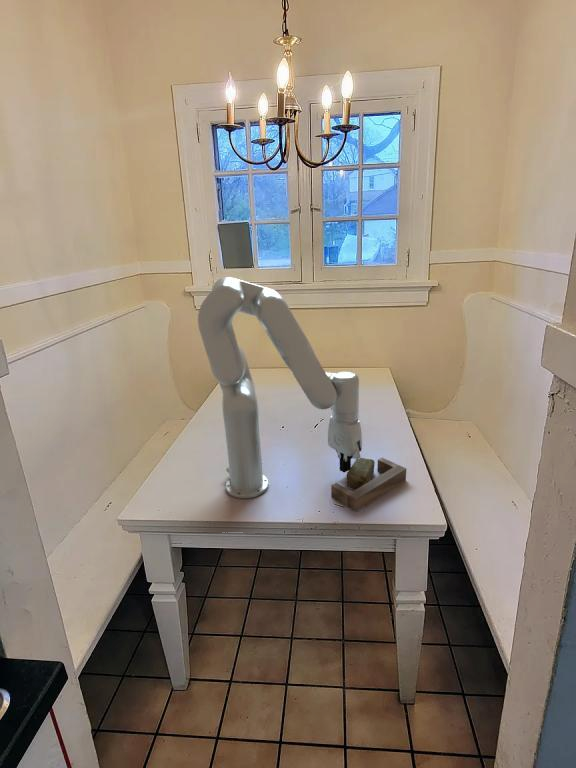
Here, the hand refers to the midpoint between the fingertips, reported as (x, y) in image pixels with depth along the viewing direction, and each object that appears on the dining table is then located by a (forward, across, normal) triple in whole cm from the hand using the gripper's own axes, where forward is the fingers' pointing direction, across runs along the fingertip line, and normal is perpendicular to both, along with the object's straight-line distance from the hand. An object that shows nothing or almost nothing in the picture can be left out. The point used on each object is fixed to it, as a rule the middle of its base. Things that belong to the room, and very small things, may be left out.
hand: (345, 469), depth 137 cm
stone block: (+3, +5, +2) cm, 6 cm away
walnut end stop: (+2, +9, 0) cm, 10 cm away
